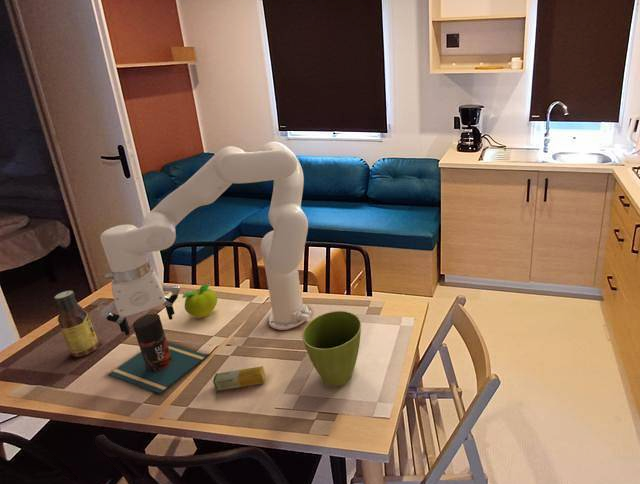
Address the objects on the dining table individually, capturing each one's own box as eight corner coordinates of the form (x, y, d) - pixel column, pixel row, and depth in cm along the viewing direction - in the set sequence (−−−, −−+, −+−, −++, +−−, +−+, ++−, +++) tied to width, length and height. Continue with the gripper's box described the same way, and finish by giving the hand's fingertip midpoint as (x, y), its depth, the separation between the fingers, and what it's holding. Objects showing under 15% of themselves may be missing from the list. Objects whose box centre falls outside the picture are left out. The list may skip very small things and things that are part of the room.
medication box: (215, 392, 102) (211, 381, 101) (219, 383, 105) (215, 372, 103) (264, 383, 104) (261, 373, 103) (266, 375, 107) (263, 364, 105)
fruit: (182, 317, 131) (175, 292, 128) (210, 302, 138) (205, 278, 135) (196, 327, 126) (190, 301, 123) (225, 311, 134) (219, 286, 131)
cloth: (207, 356, 114) (207, 354, 114) (160, 394, 102) (159, 392, 101) (159, 340, 120) (158, 339, 120) (109, 374, 108) (108, 373, 108)
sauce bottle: (104, 346, 118) (84, 291, 112) (78, 361, 113) (56, 303, 106) (92, 340, 121) (72, 285, 114) (67, 354, 115) (44, 297, 109)
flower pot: (302, 371, 109) (295, 324, 104) (352, 348, 117) (348, 303, 112) (319, 409, 97) (312, 358, 92) (374, 381, 105) (370, 332, 100)
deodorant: (158, 373, 108) (145, 329, 103) (141, 370, 109) (126, 326, 104) (177, 357, 113) (164, 315, 108) (160, 354, 114) (147, 312, 110)
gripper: (86, 290, 94) (108, 346, 99) (172, 265, 103) (187, 318, 109) (89, 276, 99) (110, 330, 105) (170, 254, 109) (185, 305, 115)
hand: (149, 324), depth 107 cm, fingers open, 9 cm apart
